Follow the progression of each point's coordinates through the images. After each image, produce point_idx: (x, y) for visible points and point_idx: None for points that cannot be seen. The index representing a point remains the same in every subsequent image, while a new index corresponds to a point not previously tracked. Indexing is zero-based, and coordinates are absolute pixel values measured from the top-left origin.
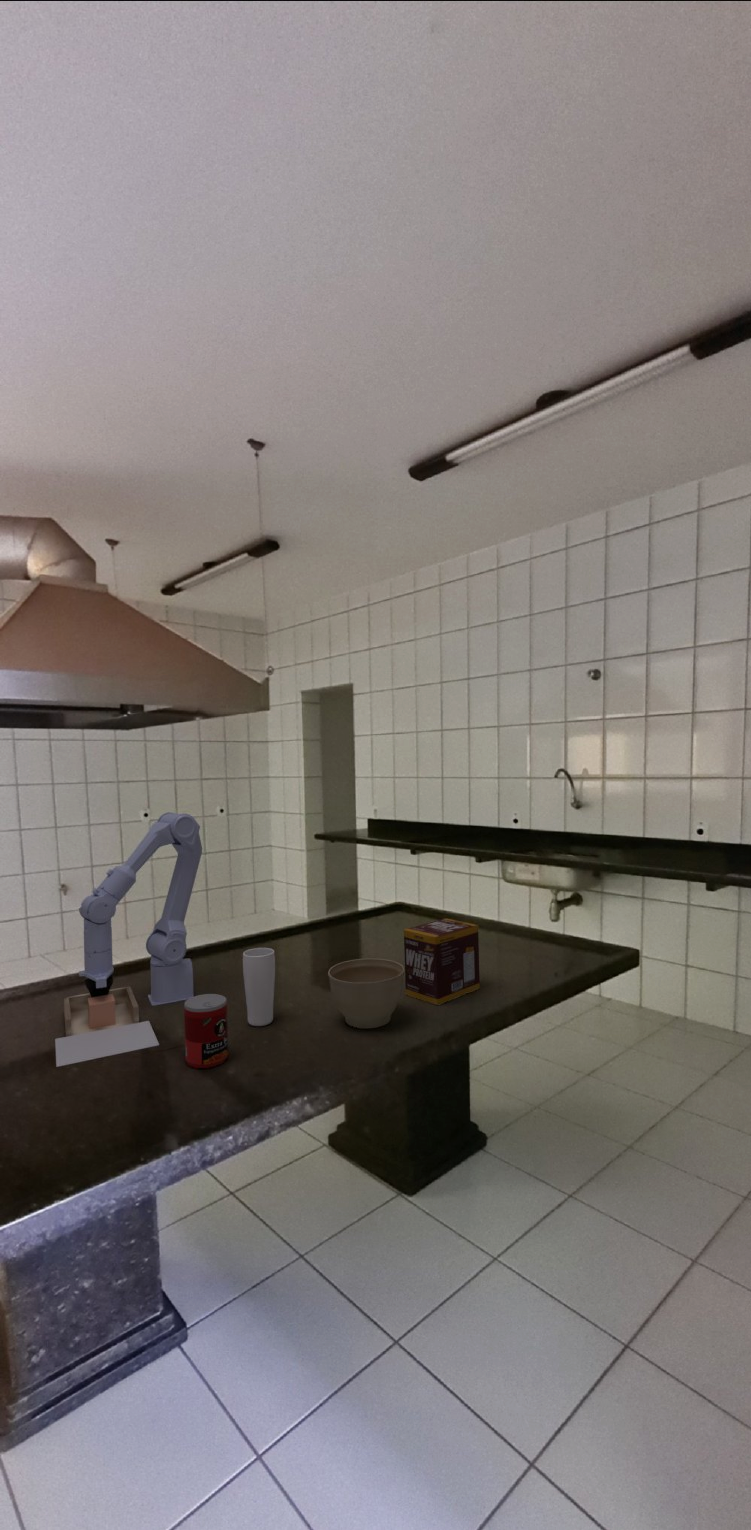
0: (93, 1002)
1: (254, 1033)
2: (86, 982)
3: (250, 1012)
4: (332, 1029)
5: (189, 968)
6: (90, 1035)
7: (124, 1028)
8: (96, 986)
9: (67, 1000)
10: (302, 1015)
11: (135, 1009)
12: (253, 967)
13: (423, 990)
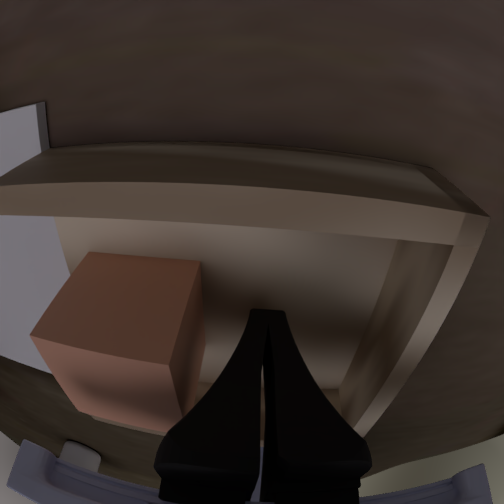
0: (71, 362)
1: (47, 429)
2: (212, 474)
3: (63, 457)
4: (55, 453)
5: None
6: (32, 245)
7: None
8: (20, 450)
9: (409, 230)
10: (100, 467)
11: None
12: None
13: None
